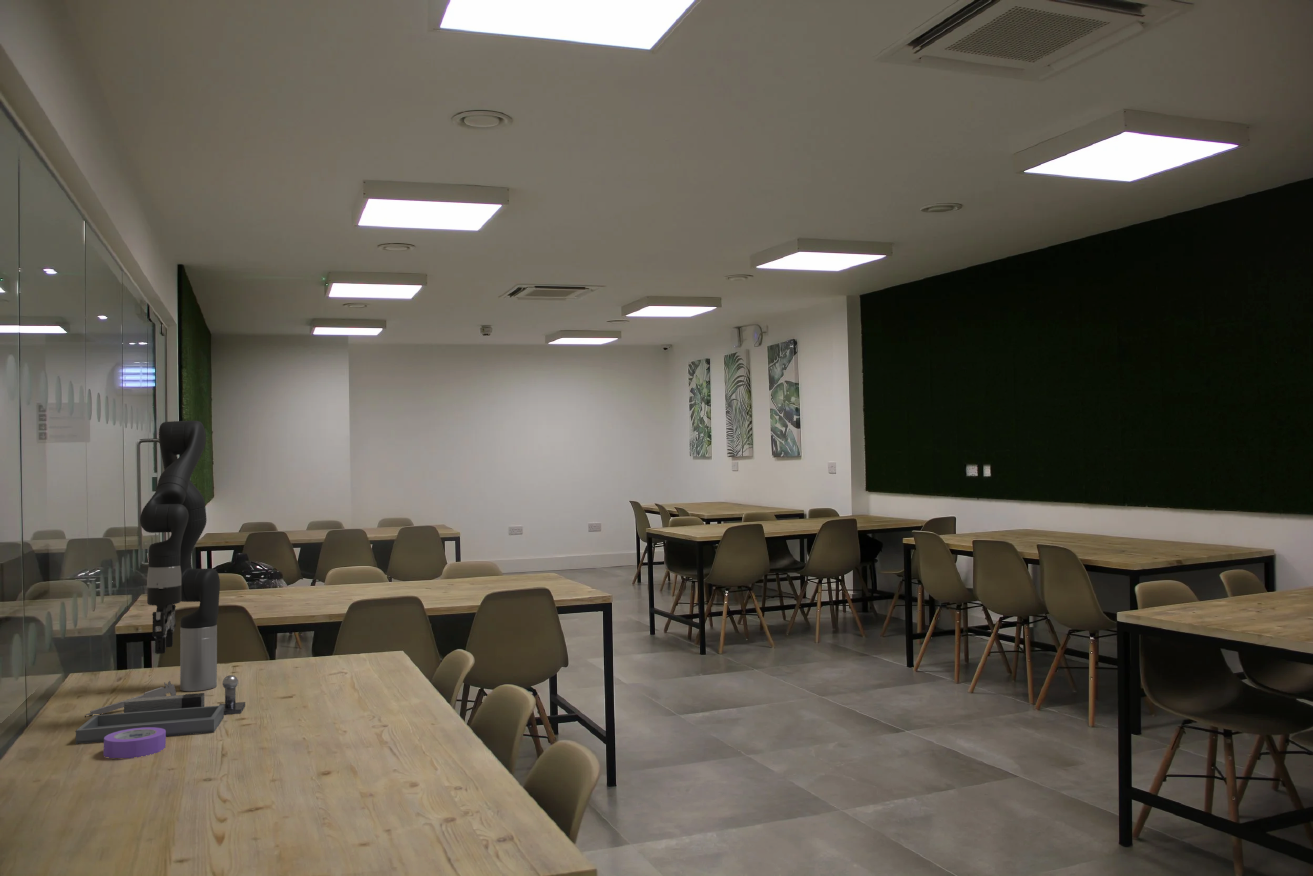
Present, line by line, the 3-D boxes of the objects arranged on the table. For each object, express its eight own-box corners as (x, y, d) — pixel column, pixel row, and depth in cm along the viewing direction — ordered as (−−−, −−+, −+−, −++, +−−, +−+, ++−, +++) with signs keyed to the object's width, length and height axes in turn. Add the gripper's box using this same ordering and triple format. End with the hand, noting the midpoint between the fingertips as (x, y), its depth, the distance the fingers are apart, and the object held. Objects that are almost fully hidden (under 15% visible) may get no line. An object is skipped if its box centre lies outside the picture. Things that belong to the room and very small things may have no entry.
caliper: (175, 704, 244) (175, 679, 244) (176, 704, 243) (176, 680, 243) (84, 717, 231) (84, 691, 231) (85, 718, 230) (85, 692, 230)
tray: (94, 728, 220) (94, 715, 220) (223, 717, 228) (223, 705, 228) (75, 744, 206) (75, 730, 206) (213, 732, 214) (214, 719, 214)
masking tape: (149, 741, 209) (149, 723, 209) (176, 749, 202) (176, 731, 202) (93, 754, 199) (93, 736, 199) (119, 763, 192) (119, 744, 193)
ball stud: (219, 707, 237) (220, 673, 238) (245, 705, 239) (245, 671, 239) (214, 715, 230) (214, 679, 230) (240, 713, 231) (241, 677, 232)
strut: (128, 717, 230) (128, 698, 230) (204, 711, 235) (204, 692, 235) (123, 721, 226) (123, 702, 226) (201, 715, 231) (201, 696, 231)
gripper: (154, 582, 237) (153, 646, 236) (140, 588, 223) (140, 656, 223) (186, 580, 239) (186, 644, 239) (175, 587, 226) (175, 654, 225)
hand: (164, 650), depth 231 cm, fingers open, 8 cm apart
